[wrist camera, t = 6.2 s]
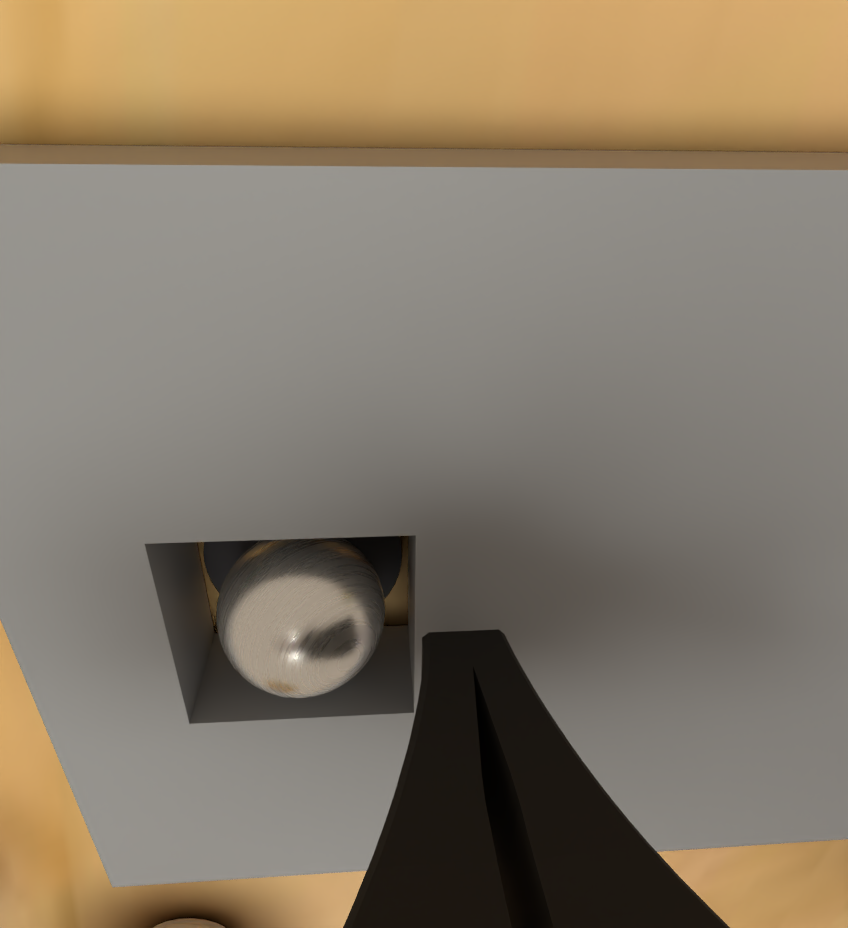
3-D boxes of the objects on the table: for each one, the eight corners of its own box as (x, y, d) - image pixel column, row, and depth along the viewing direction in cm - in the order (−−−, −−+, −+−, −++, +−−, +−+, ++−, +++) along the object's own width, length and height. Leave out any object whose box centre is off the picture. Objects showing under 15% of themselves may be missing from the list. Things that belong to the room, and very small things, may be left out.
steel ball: (319, 477, 14) (417, 553, 12) (332, 589, 16) (419, 672, 14) (172, 541, 12) (256, 643, 10) (204, 659, 14) (282, 767, 12)
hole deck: (1150, 155, 11) (1332, 174, 9) (839, 751, 19) (897, 836, 17) (-71, 143, 10) (-192, 161, 8) (143, 790, 18) (112, 887, 16)
